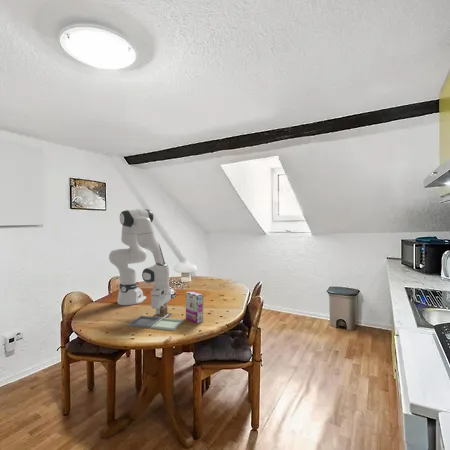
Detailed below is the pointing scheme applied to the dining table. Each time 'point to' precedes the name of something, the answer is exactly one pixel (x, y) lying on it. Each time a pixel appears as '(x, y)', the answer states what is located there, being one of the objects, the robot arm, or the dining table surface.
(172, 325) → the tray
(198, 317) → the candy bar box
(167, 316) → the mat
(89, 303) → the dining table surface
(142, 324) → the tray
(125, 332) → the dining table surface
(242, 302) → the dining table surface
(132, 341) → the dining table surface
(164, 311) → the letter cube
